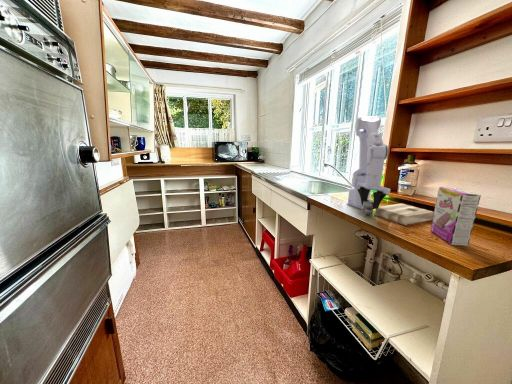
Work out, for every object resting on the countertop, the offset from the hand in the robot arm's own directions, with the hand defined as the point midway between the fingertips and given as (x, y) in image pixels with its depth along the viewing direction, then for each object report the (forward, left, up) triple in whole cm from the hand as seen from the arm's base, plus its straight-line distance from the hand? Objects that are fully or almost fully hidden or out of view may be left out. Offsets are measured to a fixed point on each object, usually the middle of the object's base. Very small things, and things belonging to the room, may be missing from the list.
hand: (369, 206), depth 90 cm
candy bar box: (+26, +5, -4) cm, 27 cm away
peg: (0, 0, -4) cm, 3 cm away
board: (+7, +12, -4) cm, 15 cm away
